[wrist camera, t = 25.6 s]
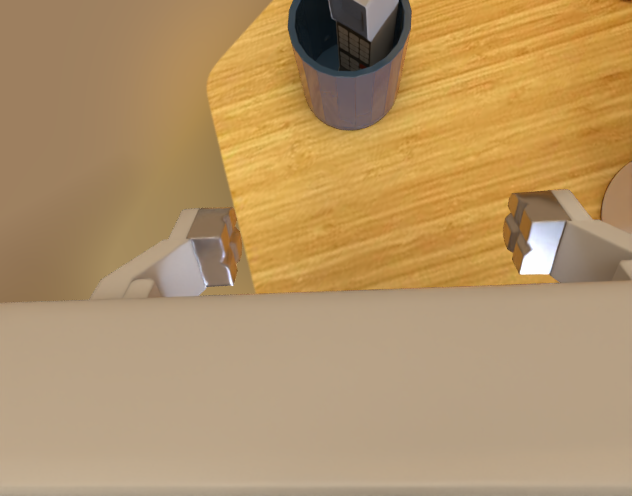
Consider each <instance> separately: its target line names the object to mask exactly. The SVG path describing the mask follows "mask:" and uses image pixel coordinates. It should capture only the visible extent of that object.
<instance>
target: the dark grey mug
mask: <svg viewBox="0 0 632 496" xmlns="http://www.w3.org/2000/svg"><path fill="white" fill-rule="evenodd" d="M411 14H412V11H411V7H410V4H409V0H399V2H398V9H397V16H396V24H395V31H394V38H393V45H392V51H391V52H390V53H389V54H388V55H387V57H385V58H384V59H382V60H381V61H379V62H378V63H376V64H374V65H373V66H371V67H367V68H364V69H360V70H357V71H338V69H339V56H338V43H337V30H336V21H335V20H334V19H332V18H331V13H330V8H329V2H328V0H293V2H292V4H291V7H290V9H289V18H288V31H289V35H290V39H291V43H292V47H293V51H294V55H295V58H296V62H297V66H298V70H299V74H300V78H301V82H302V86H303V90H304V94H305V97H306V101H307V103H308V106H309V107H310V109H311V111H312V112H313V113H314V115H315V116H316V117H317V118H318V119H320V120H321V121H322V122H324V123H325V124H327V125H329V126H331V127H334V128H337V129H341V130H358V129H362V128H366V127H368V126H371V125H373V124H375V123H376V122H378V121H379V120H381V119H382V118H383V117H384V116H385V115H386V114H387V113H388V112H389V110H390V109H391V107H392V106H393V104H394V102H395V100H396V97H397V93H398V90H399V86H400V81H401V76H402V71H403V65H404V60H405V55H406V50H407V45H408V40H409V35H410V30H411Z"/></svg>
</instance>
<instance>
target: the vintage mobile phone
mask: <svg viewBox="0 0 632 496" xmlns="http://www.w3.org/2000/svg"><path fill="white" fill-rule="evenodd" d="M328 2H329V8H330V13H331V18H332V19H334V20H335V21H336V30H337V43H338V56H339V69H338V71H357V70H360V69H364V68H367V67H371V66H373V65H374V64H376V63H378V62H379V61H381V60H382V59H384V58H385V57H387V55H388V54H389V53H390V52H391V51H392V45H393V38H394V31H395V24H396V16H397V9H398V2H399V0H328Z"/></svg>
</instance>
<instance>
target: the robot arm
mask: <svg viewBox="0 0 632 496" xmlns="http://www.w3.org/2000/svg"><path fill="white" fill-rule="evenodd" d="M508 207H509V209H510V211H511V213H510V214H509V215H508V216H507V217H506V218H505V221H504V227H503V237H504V242H505V245H506V247H507V249H508V250H509V251H511V252H513V258H512V260H513V262H514V264H515V266H516V268H517V270H518V273H519V274H550V275H551V276H552V277H553V278H555V279H556V280H557V281H559V282H560V283H542V284H514V285H487V286H459V287H431V288H403V289H375V290H347V291H320V292H292V293H264V294H236V295H209V296H199V295H200V294H201V293H202V292H203V291H204V290H205V289H206V287H211V286H228V285H234V282H235V278H236V274H237V266H236V264H237V263H238V262H239V261H240V258H241V255H242V241H241V235H240V231H239V230H238V229H237V228H236V227H235V224H236V221H237V218H236V214H235V210H234V209H233V208H232V207H225V208H201V209H200V208H194V209H184V210H182V212H181V214H180V216H179V218H178V220H177V222H176V224H175V226H174V228H173V230H172V232H171V234H170V236H169V238H168V240H162V241H161V242H159V243H157V244H156V245H154V246H153V247H152V248H150V249H148V250H147V251H145V252H143V253H142V254H140V255H139V256H137V257H136V258H134V259H132V260H131V261H129V262H128V263H126V264H125V265H123V266H121V267H120V268H118V269H117V270H115V271H114V272H112V273H111V274H109V275H108V276H106V277H104V278H103V279H101V281H100V282H99V284H98V285H97V287H96V289H95V290H94V292H93V294H92V295H91V297H90V299H89V300H70V301H69V300H68V301H41V302H11V303H0V496H632V161H631V162H630V163H628V164H627V165H626V166H624V167H623V168H622V169H621V170H620V171H619V172H618V173H617V174H616V176H615V177H614V178H613V180H612V181H611V183H610V185H609V186H608V189H607V191H606V193H605V196H604V200H603V204H602V214H601V216H602V221H601V220H593V219H592V218H591V217H590V215H589V214H588V213H587V212H586V210H585V209H584V208H583V206H582V205H581V204H580V203H579V201H578V200H577V199H576V197H575V196H574V195H573V194H572V192H571V191H570V190H568V189H559V190H548V191H536V192H523V193H512V194H511V196H510V198H509V202H508Z"/></svg>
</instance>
